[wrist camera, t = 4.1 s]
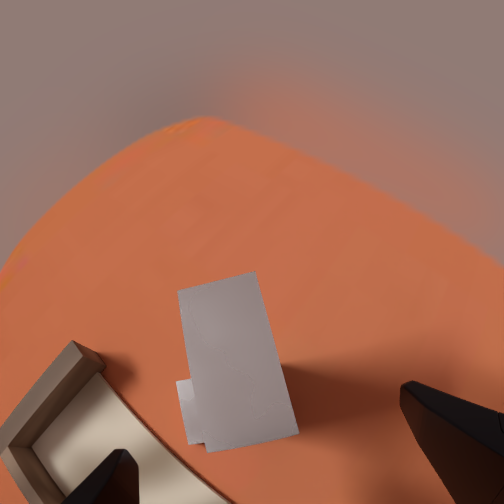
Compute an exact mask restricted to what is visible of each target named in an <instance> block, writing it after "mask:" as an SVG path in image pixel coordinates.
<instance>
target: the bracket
mask: <svg viewBox="0 0 504 504" xmlns="http://www.w3.org/2000/svg"><path fill="white" fill-rule="evenodd" d="M177 292H178V299H179V306H180V314H181V320H182V327H183V333H184V340H185V346H186V352H187V358H188V363H189V369H190V374H191V379H187V380H181V381H176V384H177V390H178V395H179V401H180V406H181V411H182V416H183V421H184V426H185V431H186V435H187V440H188V444H189V445H190V444H198V443H205V446H206V450H207V453H209V452H216V451H222V450H228V449H234V448H239V447H245V446H250V445H255V444H259V443H264V442H268V441H273V440H277V439H281V438H285V437H289V436H293V435H297V434H299V430H298V426H297V423H296V419H295V416H294V412H293V408H292V405H291V401H290V397H289V394H288V390H287V386H286V383H285V379H284V375H283V372H282V368H281V364H280V361H279V357H278V353H277V350H276V346H275V342H274V339H273V335H272V331H271V328H270V324H269V320H268V317H267V313H266V309H265V306H264V302H263V298H262V295H261V291H260V287H259V284H258V280H257V276H256V273H255V271H254V272H250V273H246V274H242V275H238V276H234V277H230V278H226V279H222V280H218V281H214V282H211V283H207V284H203V285H199V286H195V287H191V288H186V289H182V290H178V291H177Z"/></svg>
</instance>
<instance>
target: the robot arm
mask: <svg viewBox="0 0 504 504" xmlns="http://www.w3.org/2000/svg"><path fill="white" fill-rule="evenodd" d="M400 407H401V410H402V412H403V414H404V416H405V418H406V420H407V422H408V424H409V426H410V428H411V430H412V432H413V434H414V437H415V439H416V441H417V443H418V444H419V446H420V448H421V449H422V451H423V452H424V454H425V455H426V457H427V458H428V460H429V461H430V463H431V465H432V466H433V468H434V469H435V471H436V472H437V474H438V476H439V477H440V479H441V480H442V482H443V484H444V485H445V487H446V488H447V490H448V492H449V493H450V495H451V496H452V498H453V500H454V501H455V503H456V504H504V414H503V413H500V412H499V413H498V412H497V411H494V410H491V409H488V408H486V407H483V406H480V405H477V404H474V403H471V402H469V401H466V400H463V399H460V398H458V397H455V396H452V395H450V394H447V393H444V392H442V391H439V390H437V389H434V388H431V387H429V386H426V385H424V384H421V383H419V382H416V381H413V380H412V381H409V382H407V383H404V384H402V385H401V388H400ZM60 504H140V496H139V466H138V464H137V462H136V461H135V459H134V458H133V457H132V455H131V454H130V453H129V451H128V450H127V449H114V450H113V451H112V452H111V453H110V454H109V455H108V456H107V457H106V458H105V459H104V460H103V461H102V462H101V463H100V464H99V465H98V466H97V467H96V468H95V469H94V470H93V471H92V472H91V473H90V474H89V475H88V476H87V477H86V478H85V479H84V480H83V481H82V482H81V483H80V484H79V485H78V486H77V487H76V488H75V489H74V490H73V491H72V492H71V493H70V494H69V495H68V496H67V497H66V498H65V499H64V500H63V501H62V502H61V503H60Z"/></svg>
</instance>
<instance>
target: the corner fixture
mask: <svg viewBox="0 0 504 504" xmlns="http://www.w3.org/2000/svg"><path fill="white" fill-rule="evenodd" d="M105 367H106V365H105V364H104V362H103V361H102V360H101V359H100V357H99V356H98V355H97V353H96V352H95V351H93V350H91V349H89V348H87V347H85V346H83V345H81V344H79V343H77V342H75V341H73V340H71V342H70V343H69V344H68V345H67V346H66V347H65V348H64V350H63V351H62V352H61V353H60V354H59V355H58V357H57V358H56V359H55V360H54V361H53V362H52V364H51V365H50V366H49V367H48V368H47V370H46V371H45V372H44V373H43V374H42V376H41V377H40V378H39V379H38V380H37V382H36V383H35V384H34V385H33V387H32V388H31V389H30V390H29V392H28V393H27V394H26V395H25V397H24V398H23V399H22V400H21V402H20V403H19V404H18V405H17V407H16V408H15V409H14V411H13V412H12V413H11V415H10V416H9V417H8V418H7V420H6V421H5V422H4V424H3V425H2V426H1V428H0V456H1V458H2V460H3V462H4V464H5V466H6V467H7V469H8V471H9V473H10V474H11V476H12V478H13V479H14V481H15V482H16V484H17V486H18V487H19V489H20V490H21V492H22V493H23V495H24V496H25V498H26V499H27V501H28V502H29V504H60V503H61V502H62V501H63V500H64V499H65V498H66V497H67V496H68V495H69V494H70V493H71V492H72V491H73V490H74V489H75V488H76V487H77V486H78V485H79V484H80V483H81V482H82V481H83V480H84V479H85V478H86V477H87V476H88V475H89V474H90V473H91V472H92V471H93V470H94V469H95V468H96V467H97V466H98V465H99V464H100V463H101V462H102V461H103V460H104V459H105V458H106V457H107V456H108V455H109V454H110V453H111V452H112V451H113V450H114V449H127V450H128V451H129V453H130V454H131V455H132V457H133V458H134V459H135V461H136V462H137V464H138V466H139V496H140V504H231V503H230V502H229V501H227V500H226V499H225V498H224V497H222V496H221V495H220V494H219V493H217V492H216V491H215V490H214V489H212V488H211V487H210V486H209V485H207V484H206V483H205V482H204V481H203V480H201V479H200V478H199V477H198V476H197V475H196V474H194V473H193V472H192V471H191V470H190V469H189V468H188V467H187V466H186V465H184V464H183V463H182V462H181V461H180V460H179V459H178V458H177V457H176V456H175V455H174V454H173V453H172V452H170V451H169V450H168V449H167V448H166V447H165V446H164V445H163V444H162V443H161V442H160V441H159V440H158V439H157V438H156V437H155V436H154V435H153V434H152V433H151V431H150V430H149V429H148V428H147V427H146V426H145V425H144V424H143V423H142V422H141V421H140V420H139V419H138V418H137V416H136V415H135V414H134V413H133V412H132V411H131V410H130V409H129V408H128V406H127V405H126V404H125V403H124V402H123V401H122V399H121V398H120V397H119V396H118V395H117V393H116V392H115V391H114V390H113V389H112V387H111V386H110V385H109V384H108V382H107V381H106V380H105V379H104V377H103V376H102V375H101V374H100V373H101V372H102V371H103V369H104V368H105Z"/></svg>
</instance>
